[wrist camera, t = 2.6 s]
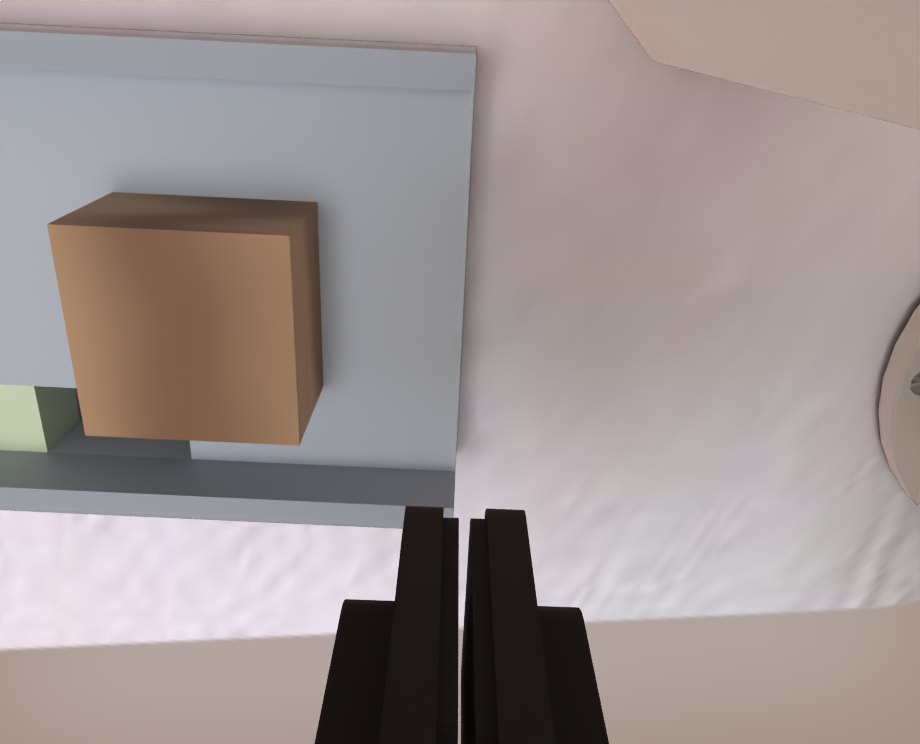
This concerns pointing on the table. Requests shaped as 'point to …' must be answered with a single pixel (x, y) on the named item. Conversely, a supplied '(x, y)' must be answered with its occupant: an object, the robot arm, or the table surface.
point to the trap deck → (251, 177)
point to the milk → (794, 48)
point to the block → (192, 316)
